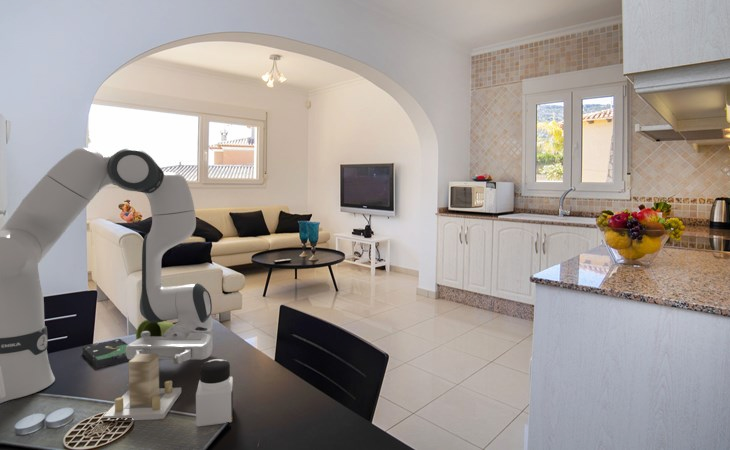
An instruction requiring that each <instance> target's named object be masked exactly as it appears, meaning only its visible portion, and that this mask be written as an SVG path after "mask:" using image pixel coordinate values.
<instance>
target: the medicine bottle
mask: <svg viewBox="0 0 730 450" xmlns="http://www.w3.org/2000/svg"><path fill="white" fill-rule="evenodd" d="M230 365H231V364H230V362H229V361H227V360H225V359H222V358H221V359H220V358H216V359H209V360H208V361H205V362H203V363H202V364H201V365H200V367H199V380H198V385H197V387H196V388H197V389H196V392H195V426H196V427H198V428H199V427H206V426H208V427H209V426H213V425H214V426H215V425H222V423H223V424H227V423H226V422H229V423H232V422H233V418H234V417H233V416H234V413H233V412H234V377H233V376H231V367H230ZM229 423H228V424H229Z"/></svg>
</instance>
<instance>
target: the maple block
mask: <svg viewBox="0 0 730 450" xmlns="http://www.w3.org/2000/svg"><path fill="white" fill-rule="evenodd" d="M159 360H160V359H159V355H158V354H138V355H137V356H135V357H134V358H133V359H131V360H128V382H129V383H128V390H129V395H130V406H150V405H151V404H152V398H153V397H154V396H159V388H160V372H159V371H160V369H159V368H160V364H159V362H160V361H159Z"/></svg>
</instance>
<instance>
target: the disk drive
mask: <svg viewBox="0 0 730 450" xmlns="http://www.w3.org/2000/svg"><path fill="white" fill-rule="evenodd" d="M128 344H129V343H127V342H126V341H124V340H123V339H121V338H116V339H113V340H107V341H102V342H99V343H97V344H95V345H92V344H90V345H84V346H82V355H83V356H84V357H85V358H86V359H87V360H88V361H89V362H91V363H92V365H93V366H94V367H95V368H97V369H99V368H103V367H107V366H111V365H115V364H118V363H123V362H126V361H130V360H131V359H128V358H127V357H126V346H127V345H128Z"/></svg>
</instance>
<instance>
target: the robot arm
mask: <svg viewBox="0 0 730 450" xmlns="http://www.w3.org/2000/svg"><path fill="white" fill-rule="evenodd" d="M109 185H113V186H116V187H118V188H120V189H122V190H123V191H128V192H136V193H137V192H139V193H143V194H144V195H145V196H146V197H147V199H148V201H149V206H150V207H149V208H150V213H151V220H152V223H151V227H150V229H149V230H150V231H149V232H148V233H147V234H145V235H144V237H143V241H142V248H141V293H140V299H139V313H140V314H141V316H142V317H143V318H144V320H148V321H150V322H151V323H158V322H168V321H173V320H177V322H176V323H174V325H173V326H172V327H170V328H169V329H168V330H166V331H165V333H164V334H163V336H162V337H142V338H139V339H137V340H136V339H134V340H133V341H130V342H129V343H127V344H128V345H127V346H126V357H127V358H128V359H133V358H134V357H135V356H137V355H138V354H158V355H159V360H172V362H173V364H176V365H177V364H181V363H183V362H185V361H188V360H206V359H208V358H209V357H210V356H211V354H212V352H213V344H214V343H213V342H214V339H213V325H214V324H213V323H214V319H213V316H212V315H211V314H212V311H213V310H212V309H213V307H212V306H213V305H212V304H213V303H212V298H211V297H212V296H211V293H210V292H209V291H208V290H207V288H206V287H205V286H204V285H203V284H201V283H199V282H197V283H185V284H180V285H179V284H178V285H172V286H171V285H170V286H169V285H168V286H164V285H163V284H162V259H163V256H164V254H165V253H166V252H167V251H168V250H170V249H172V248H174V247H176V246H178V245H180V244H182V243H184V242H185V241H187V239H189V238H190V237H191V236H193V234H194V232H195V230H196V227H197V218H196V211H195V210H196V209H195V203H194V200H193V196H192V193H191V192H192V191H191V190H190V187H189V186H190V185H189V184H188V181H187V180H186V177H184V176H183V175H182V174H180V173H177V172H170V171H168V172H167V171H165V172H164V171H163V170H162V168H161V167H160V166H159V164H157V162H156V161H155V160H154V159H153V157H152V156H151V155H149V154H148V153H147V152H145V151H144V150H141V149H138V148H132V147H129V148H123V149H120V150H118V151H116V152H115V153H114V154H112V155H110V156H109V155H103V154H101V153H100V152H98V151H96V150H94V149H92V148H89V147H78V148H75V149H73V150H72V151H70V152H68V153H67V154H66V155H65V156H64V157H63V158H61V159H60V160H59V161H58V162H56V163H55V164H54V165H53V166H52V167H51V168H50V169H49V170H48V171H47V172H46V174H45V175H44V176H43V177H42V178H41V179H40V180H39V181H38V182H37V183H36V184H35V186H34V187H33V188H32V189H31V190H30V191H29V192H28V193H27V194H26V195H25V197H23V199H22V200H21V202H20V203H19V205H18V207H17V208H16V209H15V211H14V212H13V213H12V214H11V216H10V217H9V219H8V220H7V221H6V222H5V224H4V225H3V226H2V227H1V228H0V404H2V403H4V402H7V401H10V400H14V399H19V398H22V397H26V396H29V395H32V394H35V393H37V392H40V391H42V390H44V389H46V388H48V387H50V386H51V385H52V384H53V383H54V382H55V381H56V377H55V375H54V373H53V371H52V369H51V364H50V361H49V356H48V350H47V349H48V341H49V340H48V328H47V326H46V325H45V302H44V294H43V290H42V286H41V280H40V274H39V273H40V272H39V263H41V261H42V260H43V259H44V257H46V255H47V254H48V253H49V252H50V250H51V249H52V248H53V246H54V245H55V244H56V243H57V242H58V240H59V239H60V238H61V237H62V235H63V234H64V233H65V232H66V230H67V229H68V228H69V226H70V225H72V224H73V222H74V221H75V220H76V219H77V218H78V216H79V215H81V213H82V212H83V210H84V209H85V208H86V207H87V206H88V204H89V203H90V202H91V201H92V200H93V199H94V198H95V196H96V195H97V194H99V192H100V191H101V190H102V189H103V188H104V187H106V186H109Z"/></svg>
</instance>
